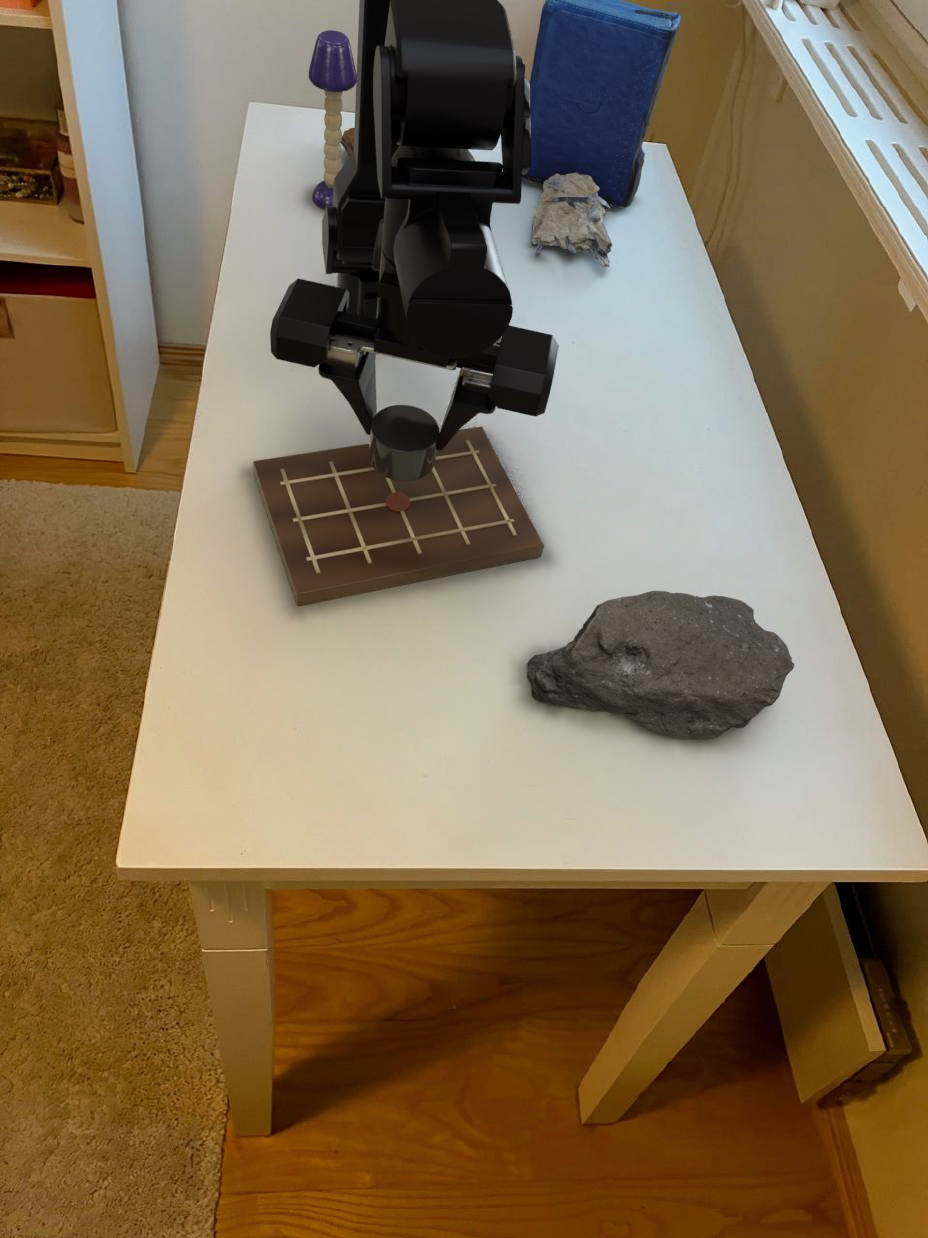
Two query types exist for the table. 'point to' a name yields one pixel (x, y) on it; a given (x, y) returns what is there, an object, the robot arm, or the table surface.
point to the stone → (667, 664)
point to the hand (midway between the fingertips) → (405, 438)
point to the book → (597, 91)
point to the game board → (392, 518)
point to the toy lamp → (331, 102)
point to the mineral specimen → (572, 216)
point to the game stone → (403, 442)
